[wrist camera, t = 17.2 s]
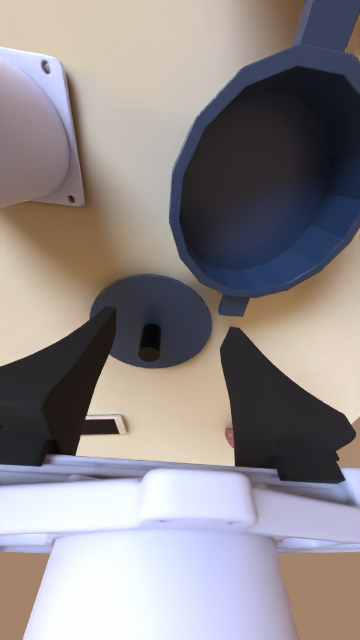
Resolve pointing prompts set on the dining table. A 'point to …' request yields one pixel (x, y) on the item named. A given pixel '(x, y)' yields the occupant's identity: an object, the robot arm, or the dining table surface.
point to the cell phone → (104, 425)
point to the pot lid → (155, 320)
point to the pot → (274, 166)
